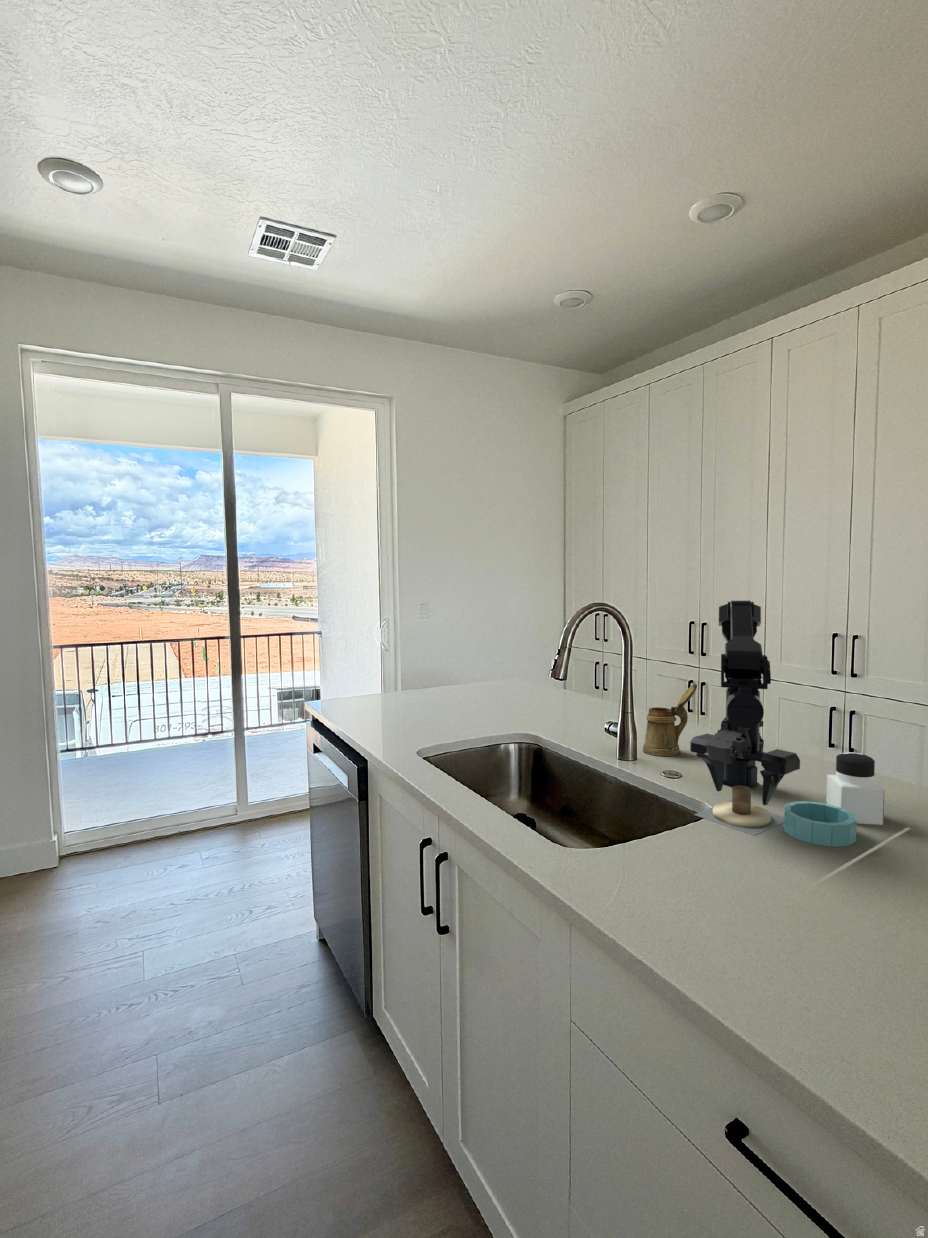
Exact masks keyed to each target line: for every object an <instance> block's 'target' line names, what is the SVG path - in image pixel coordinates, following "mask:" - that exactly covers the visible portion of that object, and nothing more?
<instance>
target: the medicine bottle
mask: <svg viewBox="0 0 928 1238" xmlns="http://www.w3.org/2000/svg"><path fill="white" fill-rule="evenodd" d="M835 761H836V762H835V774H830V773H829V774H827V776H826V804H829V805H833V806H837V807H840V808H843V809H845V810H847V811H849V812H851V813H853V814H854V815H855V818H856V820H857V824H865V825H880V826H882V825H884V815H885V811H884V810H885V788H884V787H883V786H882V785H880V784H879V783H877V782H876V781H875V765H876V764H875V763H876V762H875V760H874V759H873V758H872V757H871V756H869V755H866V754H863V753H860V752H859V753H858V752H842V753H838V754H837V755H836V757H835Z"/></svg>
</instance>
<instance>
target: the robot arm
mask: <svg viewBox="0 0 928 1238" xmlns="http://www.w3.org/2000/svg"><path fill="white" fill-rule="evenodd" d="M761 623H762V607H761V606H760V605H758V604H755V603H754V601H751V600H730V601H727V603H726V604H723V605H720V606H719V607H718V626H719V627H721V635H722V637H723V638H724V640H725V642H726V643H725V644H724V645H725V646H724V647H725V648H724V653H721V654H720V669H721V670H720V688H727V689H726V690H725V717H724V718H723V719H722V720H721V722H720V729H717V732H715V733H714V734H711V733H704V734H701V735H697V736H694V737H693V738H692V739H691V740H690V743H689V746H690V748H689V749H690V750H689V751H690V752H691V753H696V754H695V756H696V757H697V758H699V759H701V760H702V761H703V762H704V763H705V764H706V766H707V768H708V770H709V773H710V776H711V778H712V782H713V784H714V787H715V790H716V791H717V792H721V791H722V790H723V786H726V787H729V788H732V787H733V786H736V785H741V786H747V787H749V788H751V789H752V788H755V787H757V786H760V783H759V781H758V766H757V765H756V762H759V763H761V764H760V765H761V767H762V768H763V770H760V771H759V773H760V775H761V776H762V779H763V780H762V805H763V806H768V805H769V803H770V801H771V799H772V797H773V796H774V793H775V792H776V790H777V787H778V786H779V784H780V783H781V781H782V780H783V779H784V777H785V775H788V774H790V773H794V772H795V771H798V770H800V769H801V759H800V757H799V756H798V754H797V753H796V752H792V751H789V750H788V751H787V750H783V749H780V748H779V749H778V748H776V749H774V750H769V751H767V752H766V751H764V743H765V740H764V739H763V738H762V736H761V733H760V728H761V727H764V720H763V718H764V714H765V710H764V707H763V704H762V701H761V692H760V690H768V689H769V688H768V685H771V681H772V678H771V677H772V675H771V673H772V672H771V662H770V661H769V659H768V656H767V655H766V654H763V648H762V644H761V643H759V642H758V641H756V640H755V639H754V638H755V636H756V635H757V632H758V631H757V630H758V629H757V627H761ZM725 679H726V681H725Z"/></svg>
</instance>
